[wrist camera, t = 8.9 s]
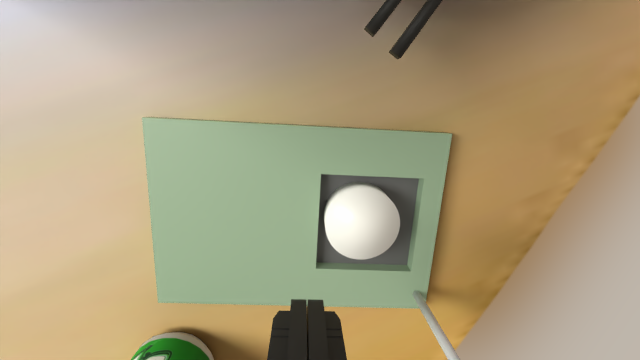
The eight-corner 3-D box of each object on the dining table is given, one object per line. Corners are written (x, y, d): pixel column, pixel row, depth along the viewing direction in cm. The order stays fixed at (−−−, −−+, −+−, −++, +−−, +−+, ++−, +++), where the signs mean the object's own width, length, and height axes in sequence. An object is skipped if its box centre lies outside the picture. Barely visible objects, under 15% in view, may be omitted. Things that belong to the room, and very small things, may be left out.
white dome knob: (323, 182, 25) (324, 189, 23) (393, 180, 25) (401, 188, 23) (324, 246, 26) (325, 260, 24) (390, 244, 27) (398, 258, 24)
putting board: (150, 117, 23) (12, 124, 12) (445, 132, 25) (554, 151, 14) (165, 308, 27) (71, 439, 17) (417, 313, 29) (484, 439, 18)
